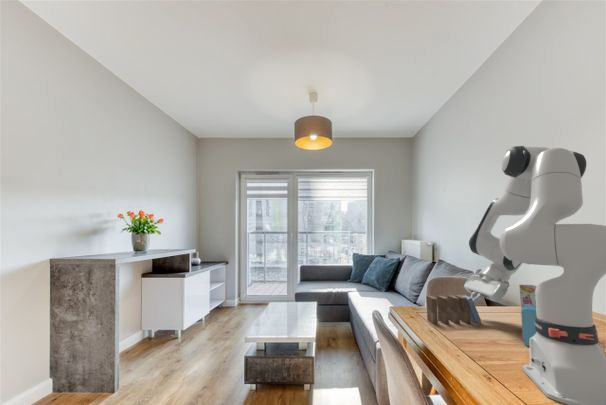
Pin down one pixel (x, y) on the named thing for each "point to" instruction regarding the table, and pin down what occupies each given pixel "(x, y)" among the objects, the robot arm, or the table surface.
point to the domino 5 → (472, 310)
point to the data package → (528, 323)
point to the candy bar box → (527, 295)
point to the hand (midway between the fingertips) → (471, 302)
